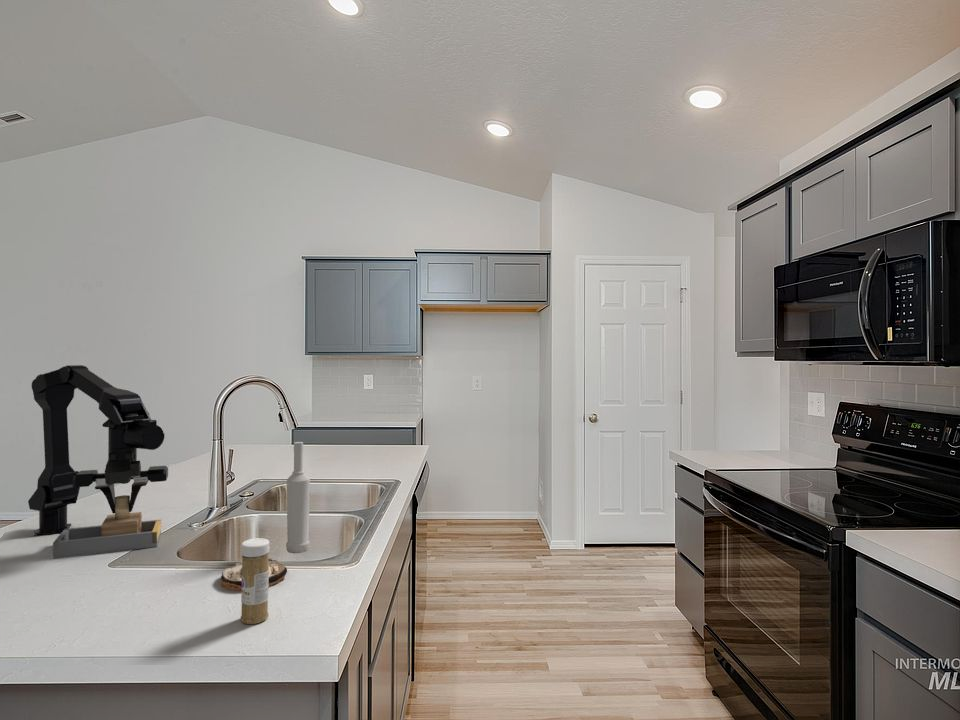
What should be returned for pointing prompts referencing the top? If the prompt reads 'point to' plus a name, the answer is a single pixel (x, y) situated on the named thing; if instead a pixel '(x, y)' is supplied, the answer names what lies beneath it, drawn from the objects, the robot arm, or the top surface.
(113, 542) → the bay
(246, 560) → the sprinkles bottle
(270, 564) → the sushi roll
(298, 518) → the bottle
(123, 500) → the tan block with peg
